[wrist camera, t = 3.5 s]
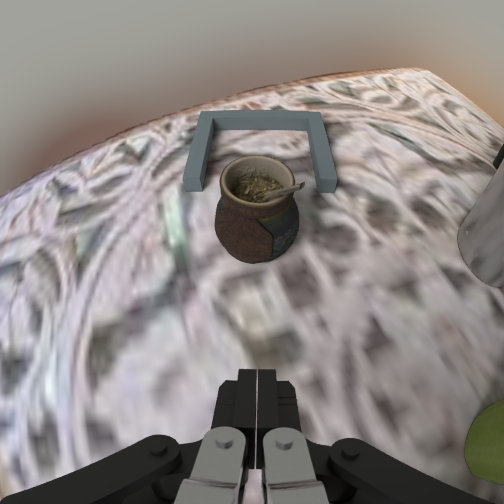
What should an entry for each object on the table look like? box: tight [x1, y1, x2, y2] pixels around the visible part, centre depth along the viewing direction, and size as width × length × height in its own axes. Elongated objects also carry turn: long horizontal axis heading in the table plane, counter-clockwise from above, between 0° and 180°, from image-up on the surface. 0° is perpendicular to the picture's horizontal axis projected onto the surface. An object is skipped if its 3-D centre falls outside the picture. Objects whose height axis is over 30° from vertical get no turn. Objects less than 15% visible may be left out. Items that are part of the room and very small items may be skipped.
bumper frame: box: [183, 110, 337, 193], centre depth 35 cm, size 16×13×2 cm
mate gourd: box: [215, 155, 305, 264], centre depth 25 cm, size 7×8×10 cm
